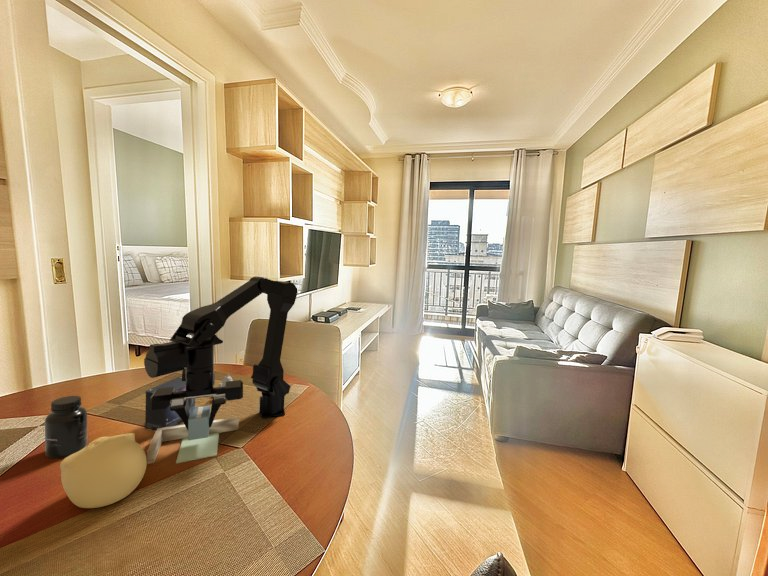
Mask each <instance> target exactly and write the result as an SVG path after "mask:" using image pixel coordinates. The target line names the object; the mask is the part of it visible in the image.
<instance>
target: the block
mask: <svg viewBox="0 0 768 576" xmlns="http://www.w3.org/2000/svg"><path fill="white" fill-rule="evenodd" d="M210 413H211V405H204V406H198V407H197V406H195V408H192V409H191V412H190V416H189V419H188V441H189V440H195V439H201V438H207V437H208V436H209V429H210V427H209V419H210Z"/></svg>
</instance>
